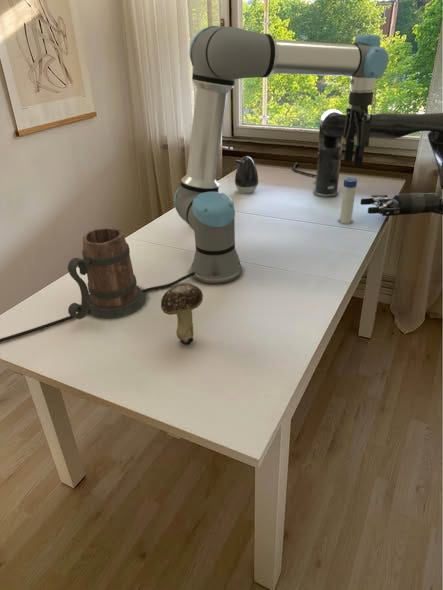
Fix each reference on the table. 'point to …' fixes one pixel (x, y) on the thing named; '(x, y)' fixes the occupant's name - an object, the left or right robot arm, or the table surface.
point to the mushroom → (182, 308)
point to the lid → (350, 182)
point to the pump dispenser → (246, 175)
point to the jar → (347, 204)
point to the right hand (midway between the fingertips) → (364, 206)
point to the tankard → (105, 276)
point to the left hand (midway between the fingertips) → (352, 163)
